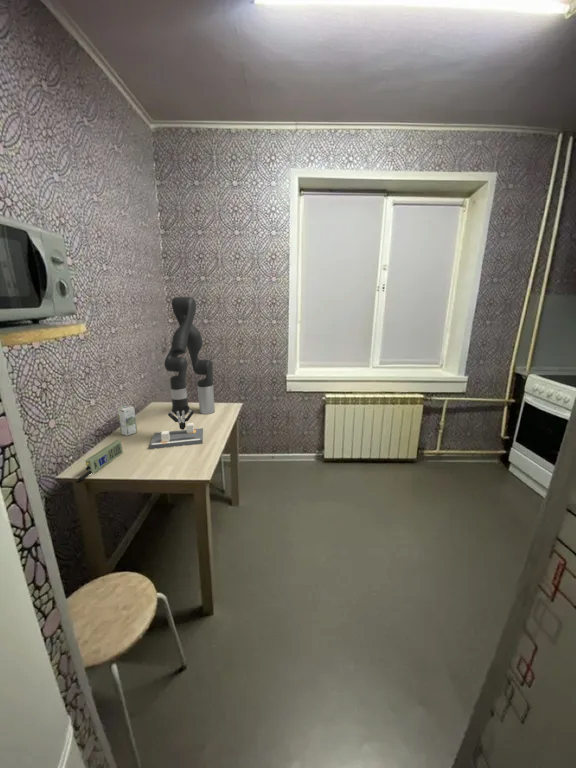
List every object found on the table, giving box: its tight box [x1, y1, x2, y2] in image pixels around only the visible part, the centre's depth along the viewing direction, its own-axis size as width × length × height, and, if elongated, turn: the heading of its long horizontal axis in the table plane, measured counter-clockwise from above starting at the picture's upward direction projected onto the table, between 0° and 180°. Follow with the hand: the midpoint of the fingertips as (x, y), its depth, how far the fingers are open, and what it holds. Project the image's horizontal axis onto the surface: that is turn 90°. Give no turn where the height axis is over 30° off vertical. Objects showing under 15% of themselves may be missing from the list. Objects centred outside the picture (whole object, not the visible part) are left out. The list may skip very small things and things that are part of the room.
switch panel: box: [149, 427, 204, 450], centre depth 158 cm, size 15×24×2 cm, turn 104°
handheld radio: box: [78, 439, 124, 482], centre depth 133 cm, size 7×3×25 cm
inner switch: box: [185, 422, 195, 433], centre depth 163 cm, size 4×3×4 cm
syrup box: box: [117, 405, 138, 437], centre depth 165 cm, size 6×6×14 cm
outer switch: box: [161, 430, 170, 442], centre depth 153 cm, size 4×3×4 cm
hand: (182, 429), depth 162 cm, fingers closed
